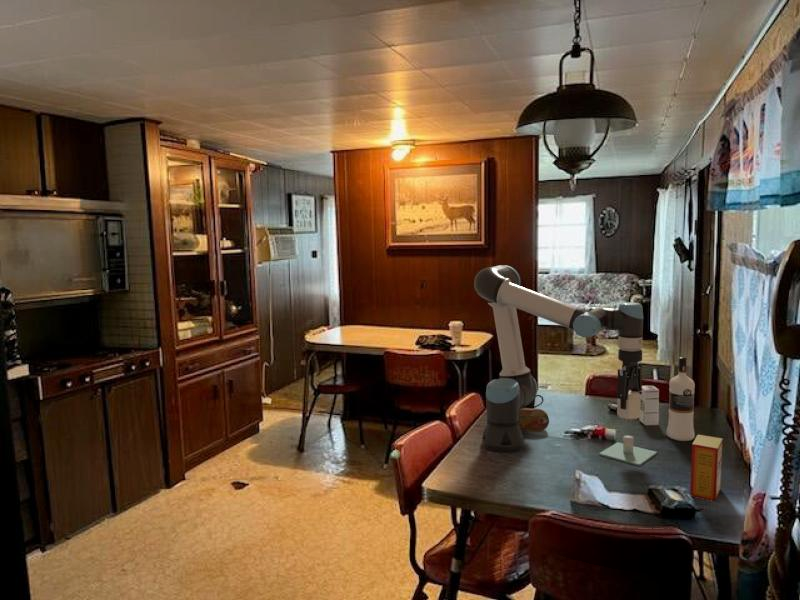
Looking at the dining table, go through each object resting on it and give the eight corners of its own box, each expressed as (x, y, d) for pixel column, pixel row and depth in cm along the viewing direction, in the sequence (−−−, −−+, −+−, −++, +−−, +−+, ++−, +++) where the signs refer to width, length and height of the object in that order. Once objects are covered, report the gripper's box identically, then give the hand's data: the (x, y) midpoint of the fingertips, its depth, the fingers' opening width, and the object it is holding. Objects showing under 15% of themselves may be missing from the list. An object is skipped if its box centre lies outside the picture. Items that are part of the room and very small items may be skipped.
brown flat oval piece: (509, 429, 227) (509, 409, 226) (509, 427, 230) (509, 406, 229) (549, 432, 223) (549, 410, 222) (548, 429, 226) (549, 408, 225)
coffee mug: (511, 411, 249) (511, 388, 248) (527, 408, 253) (527, 386, 251) (528, 419, 239) (528, 395, 237) (545, 415, 242) (545, 392, 241)
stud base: (639, 466, 190) (640, 448, 189) (599, 454, 200) (599, 437, 199) (657, 453, 200) (657, 436, 199) (617, 443, 210) (617, 427, 209)
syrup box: (659, 425, 227) (660, 389, 226) (643, 425, 228) (644, 389, 226) (653, 420, 233) (653, 385, 231) (638, 420, 233) (639, 385, 231)
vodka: (688, 432, 218) (691, 354, 215) (698, 441, 209) (701, 360, 205) (662, 432, 219) (664, 354, 216) (671, 441, 210) (674, 360, 206)
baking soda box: (696, 484, 176) (697, 433, 174) (720, 489, 172) (722, 437, 170) (690, 496, 168) (692, 442, 166) (715, 501, 164) (717, 447, 162)
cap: (634, 420, 193) (634, 397, 192) (614, 416, 198) (614, 393, 197) (642, 415, 198) (643, 392, 197) (623, 411, 203) (623, 388, 202)
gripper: (628, 355, 186) (627, 424, 188) (653, 345, 199) (652, 410, 202) (605, 352, 191) (605, 420, 194) (632, 342, 205) (631, 406, 207)
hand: (629, 415), depth 198 cm, fingers closed on cap, 7 cm apart
